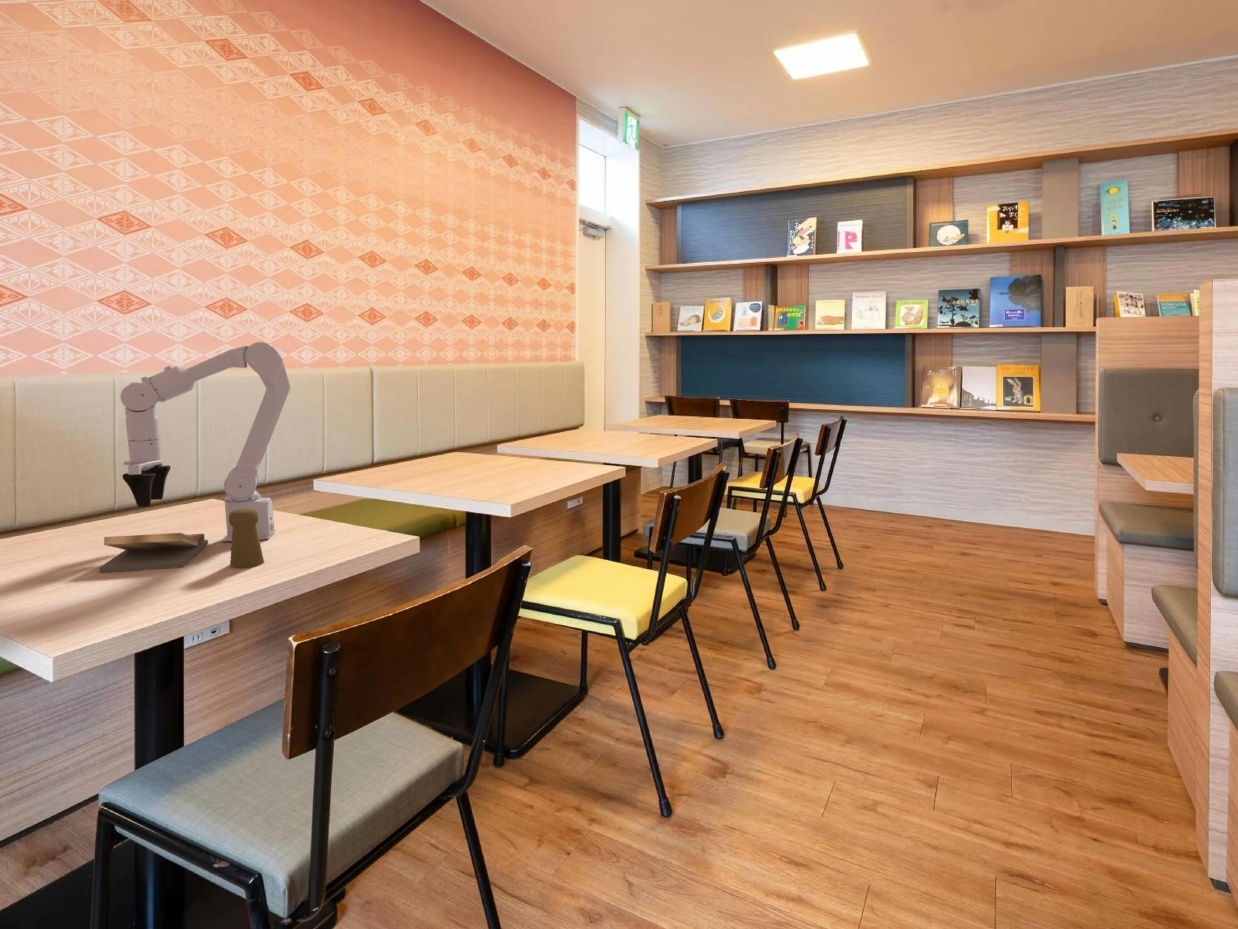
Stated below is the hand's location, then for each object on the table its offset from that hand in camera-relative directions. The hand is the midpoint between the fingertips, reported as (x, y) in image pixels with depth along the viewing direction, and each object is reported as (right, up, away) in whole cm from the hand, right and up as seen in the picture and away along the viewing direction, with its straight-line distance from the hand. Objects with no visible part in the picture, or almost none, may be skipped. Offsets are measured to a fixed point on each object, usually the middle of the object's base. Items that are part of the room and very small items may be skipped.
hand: (150, 502), depth 155 cm
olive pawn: (+27, -12, -12) cm, 32 cm away
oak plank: (+7, -8, -10) cm, 15 cm away
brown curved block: (+5, -10, -2) cm, 11 cm away
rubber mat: (+7, -11, -8) cm, 15 cm away
